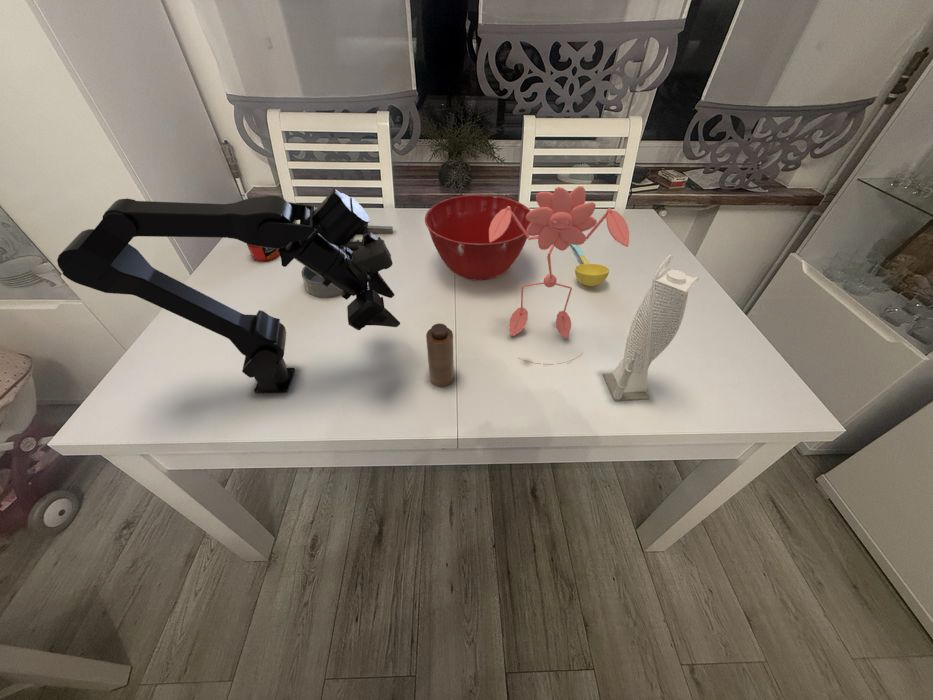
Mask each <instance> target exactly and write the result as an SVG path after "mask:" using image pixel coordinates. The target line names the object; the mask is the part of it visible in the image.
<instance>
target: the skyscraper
mask: <svg viewBox="0 0 933 700" xmlns="http://www.w3.org/2000/svg"><path fill="white" fill-rule="evenodd" d="M672 258H673V253H671V254H669V255H667V257H666V258H665V259H664V260H663V261H662V263H661V264H660V266H659V267H658V269H657V270H656V272H655V274H654V276H653V277H652V281H651V286H650V287H649V289H648V290H647V292H646V293H645V295H644V297H643V299H642V300H641V302H640V304H639V306H638V307H637V310H636V312H635V314H634V316H633V319H632V322H631V325H630V326H629V327H630V328H629V331H628V335H627V338H626V342H625V346H624V347H625V348H624V353H623V357H622V359H621V360H620V361H619V362H618V364H617V366H616V367H615V368H614V370H612V372H611V373H603V374H602V377H603V379H604V381H605V384H606V386H607V388H608V390H609V393H610V395H611V398H612V400H613V402H625V401H627V402H629V401H648V400H650V397H649V395H648V393H647V384H648V372H649V368H650V367H651V366H650V365H651V364H652V362H653V361H654V360H655V359H657V358H658V356H660V355H661V354H663V352H664V351H665V350H666V349H667V348H668V346H669V345H670V344H671V342H672V341H673V340H674V338H675V337H676V335H677V333H678V331H679V329H680V328H681V324H682V322H683V319H684V314H685V311H686V307H687V302H688V297H689V292H690V291H691V289H692V288H693V286H694V285H695V284H696V282H697V283H698V281H699V279H700V275H697V276H695V277H693V276H690V275H687V274H686V273H685V272H684V271H681V270H678V269H671V268H668V267H669V265H670V263H671V260H672Z"/></svg>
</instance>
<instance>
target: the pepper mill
mask: <svg viewBox="0 0 933 700" xmlns="http://www.w3.org/2000/svg"><path fill="white" fill-rule="evenodd" d="M425 338H426V348H427V349H426V350H427V351H426V352H427V363H428V372H429V373H428V374H429V382H430V383H431V384H432V385H434V386H436V387H440V388H441V387H443V388H444V387H447V386H449V385H451V384H452V383H453V381H454V378H455V370H454V369H455V365H454V364H455V363H454V333H453V331H452V329H450V328H449V327H448V326H447V325H446V324H444V323H435V324H433V325H432V326H431V328H429V329H428V330H427V331H426V334H425Z"/></svg>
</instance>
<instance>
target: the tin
mask: <svg viewBox="0 0 933 700" xmlns="http://www.w3.org/2000/svg"><path fill="white" fill-rule="evenodd" d="M301 278H302V281H303V283H304V287H305V289H306V292H307V293H309V295H312V296H313V297H316V298H322V299H330V298H336V297H340V296H342V291H341V290H339V289H338V288H336V287H335V286H333V285H332V284H331V283H330V284H329V285H328V286H325V285H324V284H322V277H320V276H319V275H317V274H316V273H315V272H313V271H312V270H310V269H309V268H307V267H306V266H304V265H303V267H302V269H301Z"/></svg>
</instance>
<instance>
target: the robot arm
mask: <svg viewBox="0 0 933 700" xmlns="http://www.w3.org/2000/svg"><path fill="white" fill-rule="evenodd" d="M296 220H297V221H299V223H298V224H296ZM370 222H371V218H370V216H369V214H368V213H367V212H366V210H365V209H364V207H363V206H362V205H361V204H360V203H359V202H358V201H357V200H356V199H355V198H353V197H352V196H349V195H348V194H346V193H344V192H340V191H339V190H338V189H336V188H332V189H330V190H329V192H328V193H327V195H326V197H325V198H324V200H323V201H321V203H320V204H319V205H317V207H316V205H312V204H305V203H298V202H290V201H287V200H286V199H285V198H283V197H281V196H278V195H264V196H256V197H249V198H245V199H242V200H239V201H236V202H232V203H205V202H204V203H201V202H180V201H179V202H176V201H151V200H148V201H147V200H136V199H134V198H133V199H132V198H129V197H128V198H121V199H120V198H119V199H117V200H115V201H114V202H113V203H112V204H111V205H110V206H109V208H107V210H106V211H105V212H104V213H103V215H102V219H101V220H100V222H99V223H98V224H97V225H96V226H95V228H93V229H92V228H88V229H85V230H82V231H81V232H80V233H78V234H77V235H76V236H75V238H73V240H72V241H71V242H70V243H69V244H68V245H67V246H66V247H65V248H64V249H63V250H62V252H60V253H59V255H58V257H57V258H56V262H57V266H58V268H59V269H60V271H61V272H62V273H61V274H62V275H63V276H64V277H65V278H66V279H68V280H70V281H71V282H73V283H76V284H78V285H81V286H84V287H87V288H90V289H92V290H95V291H99V292H101V293H105V294H116V295H130V296H131V295H132V296H134V297H138V298H139V299H142V300H143V301H146V302H147V303H150V304H153V305H154V306H156V307H159V308H162V309H163V310H165V311H167V312H171V313H172V314H174V315H176V316H178V317H181V318H183V319H185V320H187V321H190V322H191V323H193V324H196V325H198V326H200V327H202V328H204V329H206V330H209V331H211V332H213V333H215V334H217V335H220V336H222V337H224V338H226V339H228V340H229V341H230V342H231V343H232V345H233V346H234V347H235V348H236V349H237V350H238V351H239V353H240V354H241V355H243V356H244V361H243V365H242V370H241V372H242V373H243V374H244V375H246V376H247V377H248V378H251V379H252V378H253V379H254V380H255V381H256V384H255V387H254V390H253V391H254V392H253V393H254V394H285V393H288V391H289V389H290V386H291V383H292V381H293V379H294V376H295V374H296V368H295V367H288V366H287V364H286V362H285V360H284V355H285V350H286V349H285V348H286V340H287V330H286V327H285V325H284V324H283V323H281V319H280V318H276V317H274V316H272V315H270V314H268V313H266V312H265V311H264V310H260V309H258V311H257V312H256V314H244V313H242V312H240V311H238V310H236V309H234V308H232V307H230V306H228V305H226V304H225V303H222V302H220V301H218V300H216V299H215V298H213V297H211V296H208V295H207V294H204V293H203V292H201V291H199V290H197V289H195V288H194V287H191V286H189V285H187V284H185V283H183V282H181V281H179V280H178V279H175V278H174V277H171V276H169V275H168V274H166V273H164V272H162V271H160V270H158V269H156V268H155V267H153V266H152V265H151V264H150V263H149V262H148V261H147V259H146V258H145V257H144V256H143V254H141V252H140V251H139V250H138V249H137V248H136V247H134V246H133V245H131V244H129V243H130V242H131V241H132V240H133V238H136V237H151V238H152V237H153V238H154V237H155V238H157V237H159V238H213V239H214V238H215V239H216V238H218V239H219V238H220V239H221V238H222V239H223V238H225V239H233V240H237V241H239V242H242V243H245V244H246V245H247V244H249V245H252V246H259V247H265V248H272V249H278V252H279V254H280V255H279V256H280V262H281V263H280V264H281V266H282V267H283V268H286V267H287V266H288V265H289V264H291V262H292V261H293V260H296V261H297V262H298V263H300V264H301V265H303V267H304V266H306V267H307V268H309V269H310V270H312V271H313V272H315V273H316V274H317V275H319V276H320V277H322V284H324V285H325V286H328V285H329V284H330V283H331V284H332V285H333V286H335V287H336V288H338V289H339V290H341V291H342V295H341V298H343V299H344V300H346V301H347V300H348V299H349V298H351V296H352V297H355V298H354V299H353V300H352V301H351V302H350V303H349V304H347V307H346V309H347V310H346V311H347V322H348V326H350V327H351V328H353V329H354V330H356V331H361V330H362V329H363V328H365V327H366V326H377V327H389V328H398V327H399V326H400V325H401V321H400V320H398V319H397V318H396V317H395V316H394V315H393V314H392V313H391V311H389V310H388V309H387V308H386V307H385V302H384V301H385V300H384V297H386V298H388V299H392V298H394V297H395V292H393V290H392V289H391V287H390V286H389V284H388V283H387V282H386V280H385V279H384V278H383V276H382V275H381V274H380V273H379V272H380V271H383V270H388V269H390V268H391V267H392V266H393V260H392V254H391V252H390V250H389V249H388V247H387V245H386V242H385V240H384V239H383V238H381V236H377V235H375V234H374V233H370V232H368V233H366V234H364V235H362V238H363V246H361V245H360V246H359V249H358V250H356V251H352V250H350V249H349V248H345V247H343V248H342V249H340V248H338V247H340V246H341V245H346V244H347V243H348V242H349V241H350V240H351V241H353V239H354V237H355V236H357V234H358V233H359V232H360V231H361V230H362V229H363V228H364V227H365V226H366V225H367V224H368V225H369V223H370Z"/></svg>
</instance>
